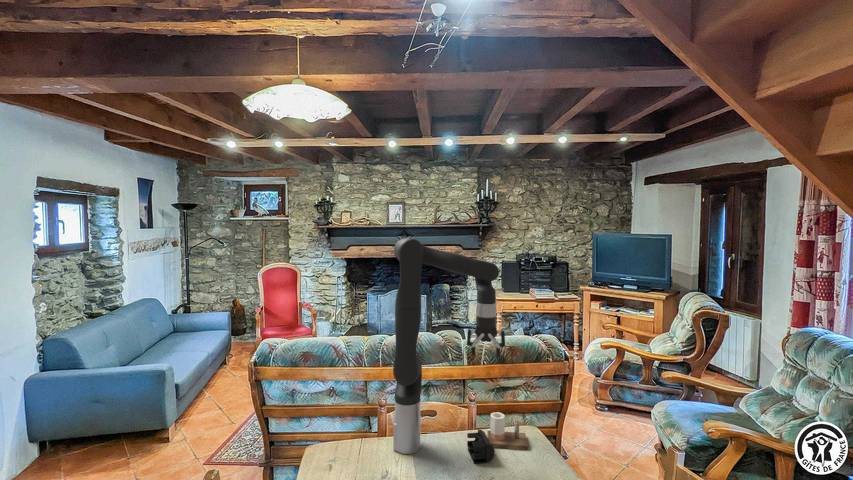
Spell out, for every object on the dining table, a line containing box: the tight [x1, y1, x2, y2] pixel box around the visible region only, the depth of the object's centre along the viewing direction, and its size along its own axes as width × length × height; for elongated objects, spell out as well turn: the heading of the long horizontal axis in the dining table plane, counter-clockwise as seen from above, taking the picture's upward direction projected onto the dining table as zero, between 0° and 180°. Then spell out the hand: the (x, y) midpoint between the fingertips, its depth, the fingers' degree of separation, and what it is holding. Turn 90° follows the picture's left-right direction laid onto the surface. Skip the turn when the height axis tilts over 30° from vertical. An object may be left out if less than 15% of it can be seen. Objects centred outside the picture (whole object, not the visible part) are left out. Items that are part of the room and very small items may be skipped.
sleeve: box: [490, 411, 506, 440], centre depth 145 cm, size 5×5×8 cm
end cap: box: [466, 429, 496, 465], centre depth 136 cm, size 10×7×7 cm
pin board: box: [487, 421, 529, 451], centre depth 145 cm, size 14×9×7 cm, turn 83°
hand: (485, 356), depth 149 cm, fingers open, 8 cm apart
